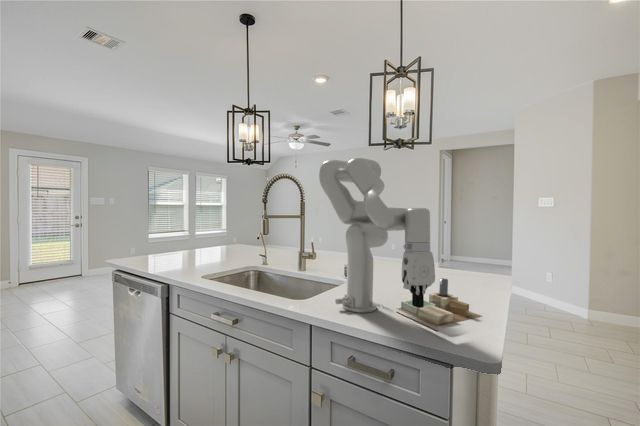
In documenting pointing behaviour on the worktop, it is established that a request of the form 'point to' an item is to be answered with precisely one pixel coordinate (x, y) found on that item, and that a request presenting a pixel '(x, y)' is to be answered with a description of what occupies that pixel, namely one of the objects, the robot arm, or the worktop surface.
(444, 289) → the dowel
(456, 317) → the board
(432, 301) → the holder
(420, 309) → the beige cardboard box
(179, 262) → the worktop surface
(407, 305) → the tray
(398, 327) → the worktop surface
